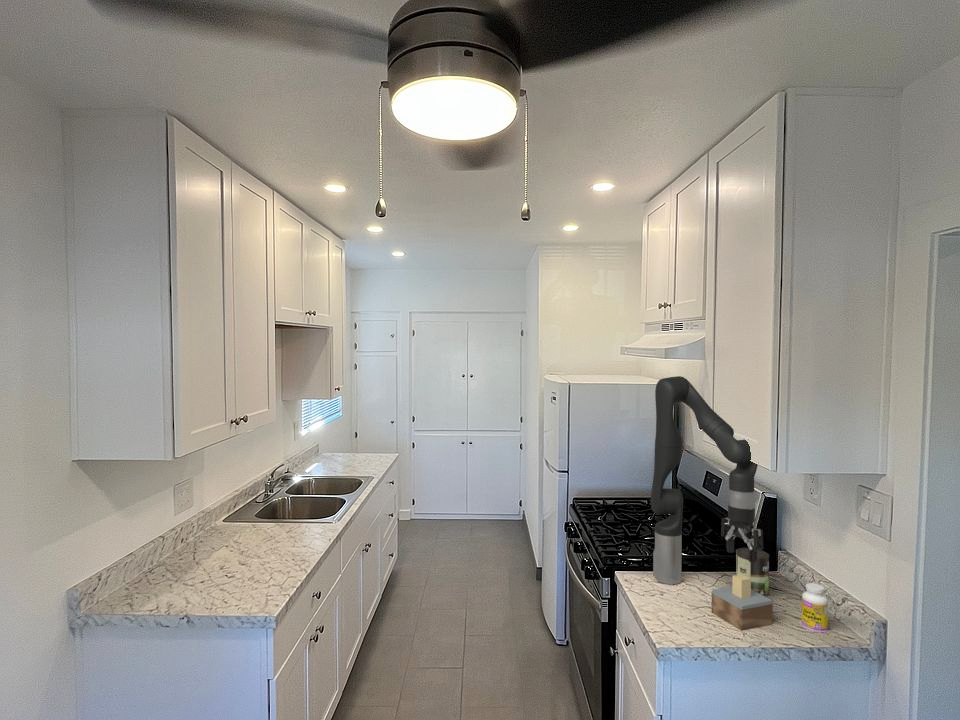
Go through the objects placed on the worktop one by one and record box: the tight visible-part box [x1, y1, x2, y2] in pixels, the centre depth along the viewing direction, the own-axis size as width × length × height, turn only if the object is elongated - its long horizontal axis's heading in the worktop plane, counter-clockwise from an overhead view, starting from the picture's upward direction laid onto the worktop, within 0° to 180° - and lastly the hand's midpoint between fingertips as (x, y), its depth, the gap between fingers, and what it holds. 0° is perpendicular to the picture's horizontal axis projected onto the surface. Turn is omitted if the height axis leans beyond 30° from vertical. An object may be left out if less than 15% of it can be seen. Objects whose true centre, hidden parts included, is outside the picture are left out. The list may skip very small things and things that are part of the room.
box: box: [711, 592, 774, 632], centre depth 166 cm, size 12×12×7 cm
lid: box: [711, 574, 774, 610], centre depth 166 cm, size 12×12×7 cm
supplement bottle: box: [801, 582, 829, 633], centre depth 161 cm, size 7×7×13 cm
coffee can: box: [735, 547, 770, 598], centre depth 185 cm, size 10×10×14 cm
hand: (741, 557), depth 166 cm, fingers open, 8 cm apart
